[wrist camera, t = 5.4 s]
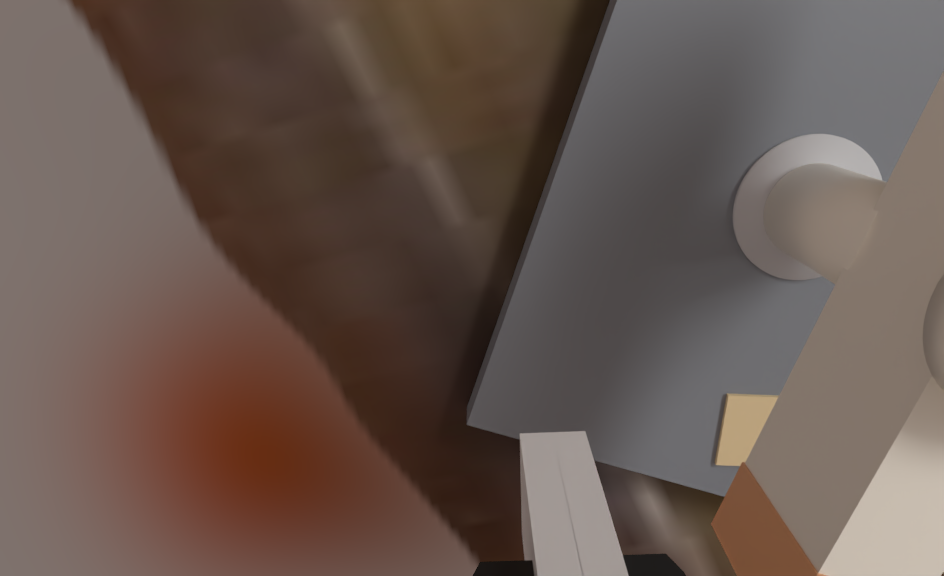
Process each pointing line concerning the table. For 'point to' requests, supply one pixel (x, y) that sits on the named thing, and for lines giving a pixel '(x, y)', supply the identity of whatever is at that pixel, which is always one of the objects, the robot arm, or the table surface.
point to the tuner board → (694, 222)
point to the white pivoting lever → (855, 380)
